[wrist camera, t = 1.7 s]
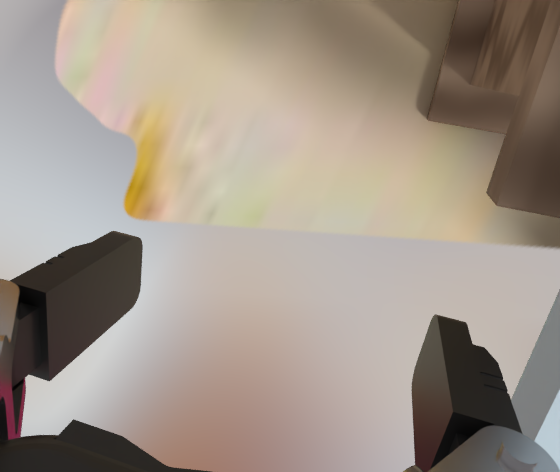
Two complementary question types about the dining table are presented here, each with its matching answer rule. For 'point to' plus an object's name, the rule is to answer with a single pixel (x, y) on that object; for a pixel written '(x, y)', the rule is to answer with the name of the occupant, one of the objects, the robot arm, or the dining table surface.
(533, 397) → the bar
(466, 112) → the stand
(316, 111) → the dining table surface
